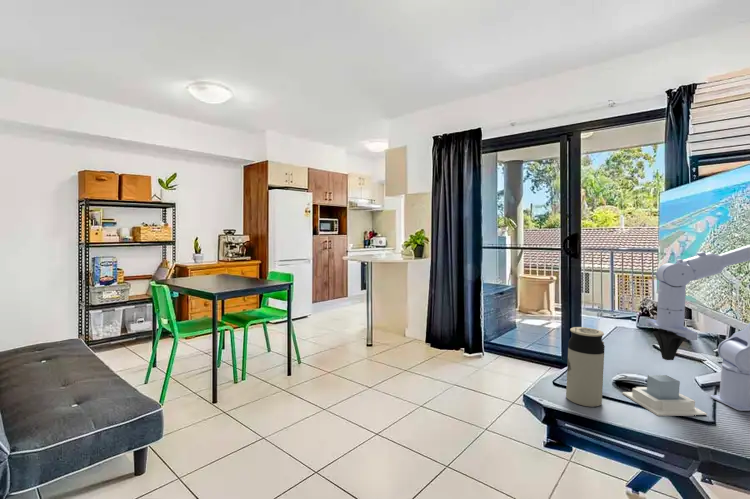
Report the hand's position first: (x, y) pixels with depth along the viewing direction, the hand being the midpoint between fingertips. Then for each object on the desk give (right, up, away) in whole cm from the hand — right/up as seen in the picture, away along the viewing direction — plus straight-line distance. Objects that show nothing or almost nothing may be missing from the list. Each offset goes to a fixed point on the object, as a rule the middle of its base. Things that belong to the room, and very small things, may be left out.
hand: (667, 359), depth 101 cm
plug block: (-6, -9, -6) cm, 12 cm away
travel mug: (-25, -9, -5) cm, 27 cm away
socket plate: (-6, -10, -6) cm, 13 cm away
